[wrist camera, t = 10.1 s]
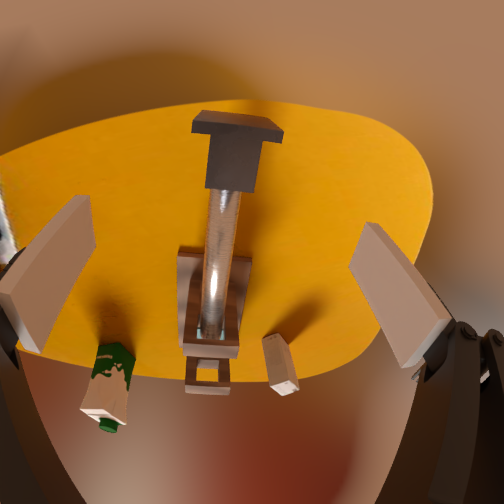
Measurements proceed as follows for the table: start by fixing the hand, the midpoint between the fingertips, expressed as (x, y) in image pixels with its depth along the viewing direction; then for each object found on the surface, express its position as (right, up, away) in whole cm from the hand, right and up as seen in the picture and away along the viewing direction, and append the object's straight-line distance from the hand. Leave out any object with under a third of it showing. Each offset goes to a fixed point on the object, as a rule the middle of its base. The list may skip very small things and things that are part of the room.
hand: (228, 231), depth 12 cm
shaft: (-3, +2, +23) cm, 23 cm away
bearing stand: (-7, -11, +39) cm, 41 cm away
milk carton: (-32, -25, +46) cm, 61 cm away
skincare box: (+6, -21, +47) cm, 52 cm away
